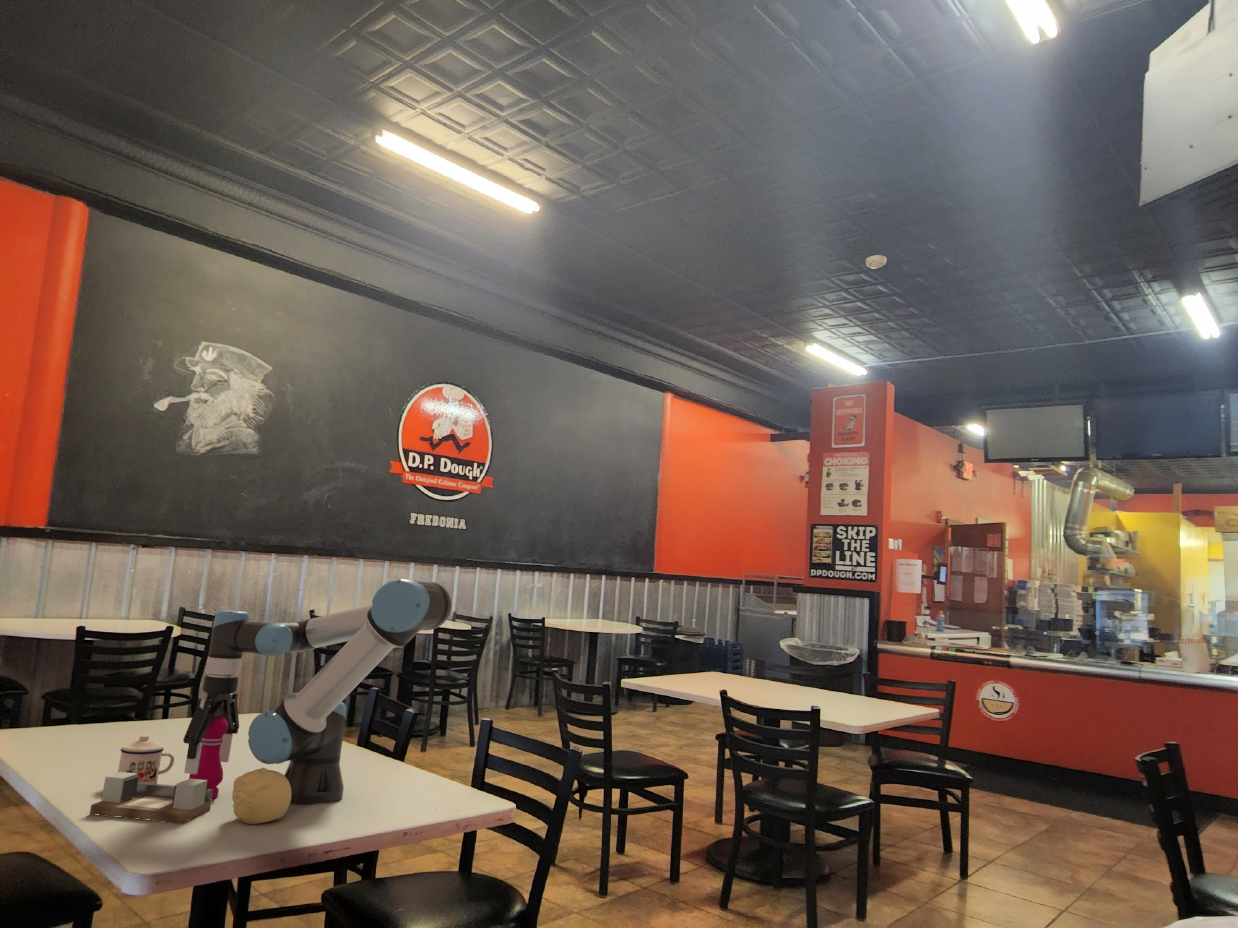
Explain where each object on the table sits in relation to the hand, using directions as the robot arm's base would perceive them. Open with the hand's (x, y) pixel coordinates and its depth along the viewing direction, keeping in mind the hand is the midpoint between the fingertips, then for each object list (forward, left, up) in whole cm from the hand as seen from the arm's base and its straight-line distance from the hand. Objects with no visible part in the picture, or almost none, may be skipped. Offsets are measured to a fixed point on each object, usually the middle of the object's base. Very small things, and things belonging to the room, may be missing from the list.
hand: (207, 767), depth 190 cm
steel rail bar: (+3, +10, -5) cm, 11 cm away
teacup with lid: (+18, -5, -7) cm, 20 cm away
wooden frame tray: (+3, +15, -7) cm, 17 cm away
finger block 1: (+10, +15, -5) cm, 19 cm away
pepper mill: (0, 0, -7) cm, 7 cm away
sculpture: (-20, +13, -7) cm, 25 cm away
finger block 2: (-5, +15, -5) cm, 17 cm away
